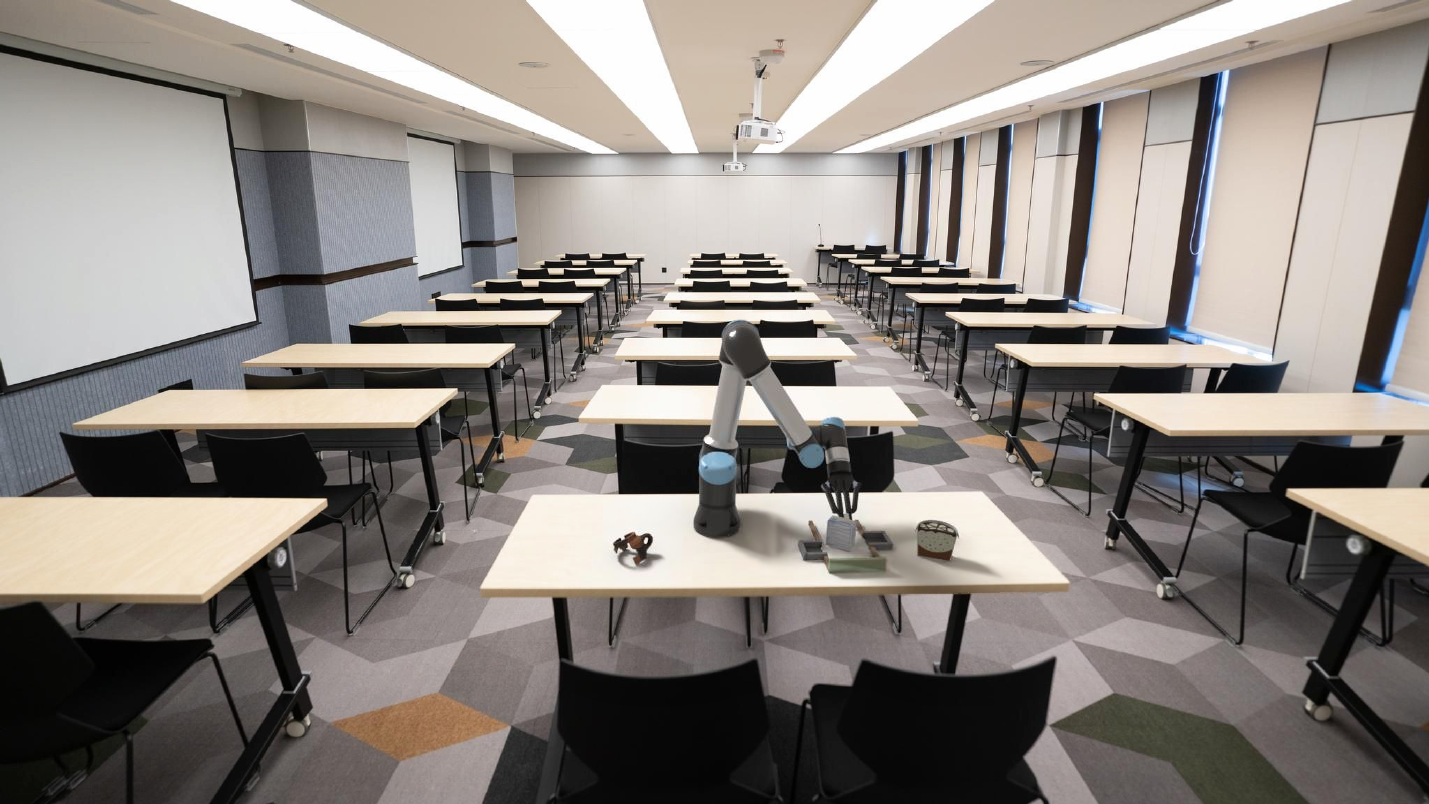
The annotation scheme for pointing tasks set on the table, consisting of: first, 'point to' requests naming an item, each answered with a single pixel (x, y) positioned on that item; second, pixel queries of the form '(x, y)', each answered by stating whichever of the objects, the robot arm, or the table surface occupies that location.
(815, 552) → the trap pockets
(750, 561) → the table surface
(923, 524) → the food container
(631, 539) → the brown looped part
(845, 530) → the medicine box
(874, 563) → the walnut lane
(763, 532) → the table surface
